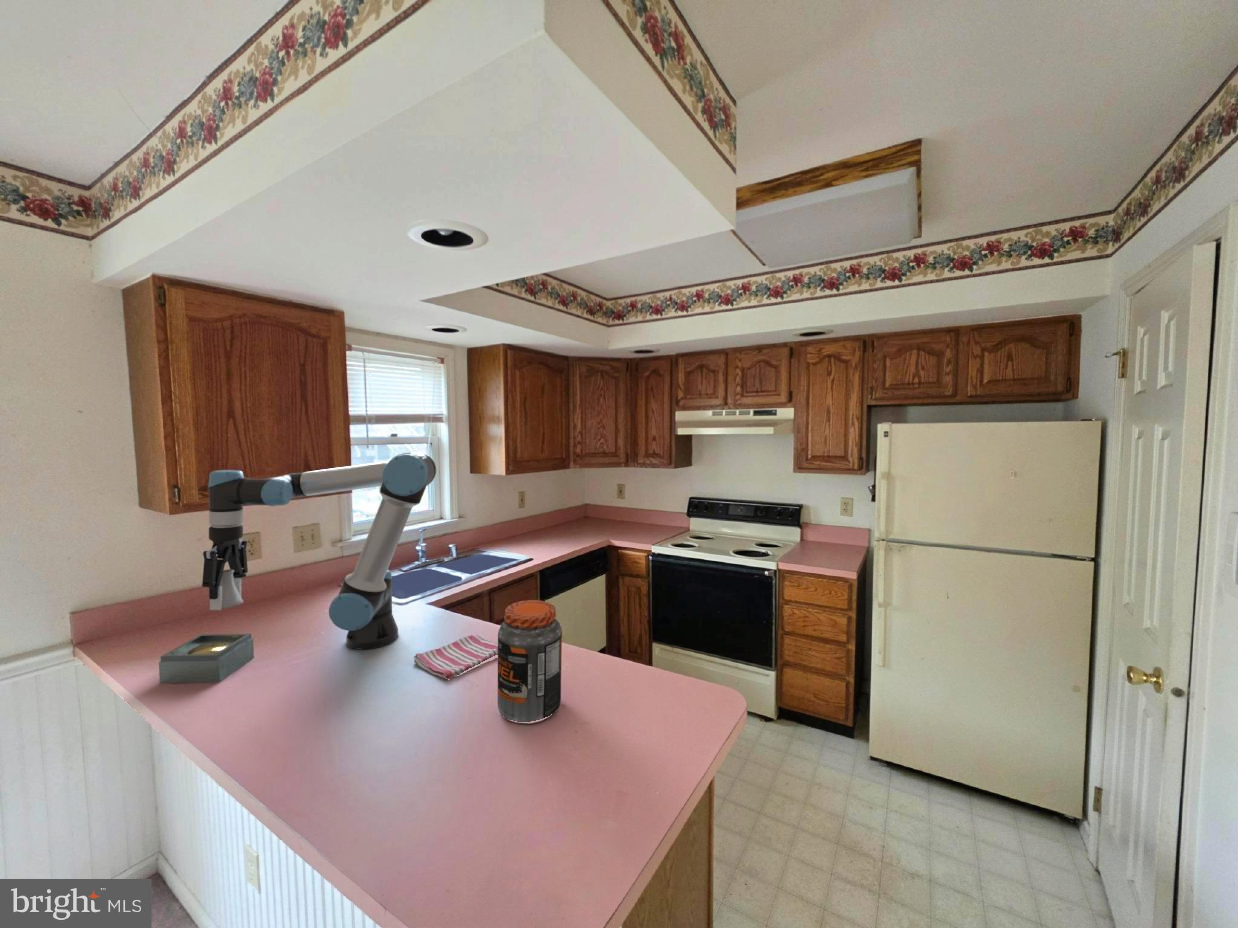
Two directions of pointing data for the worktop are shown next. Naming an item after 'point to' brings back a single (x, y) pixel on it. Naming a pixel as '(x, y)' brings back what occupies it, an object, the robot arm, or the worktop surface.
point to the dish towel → (457, 656)
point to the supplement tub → (529, 661)
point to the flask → (229, 590)
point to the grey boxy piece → (206, 658)
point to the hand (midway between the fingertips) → (226, 604)
